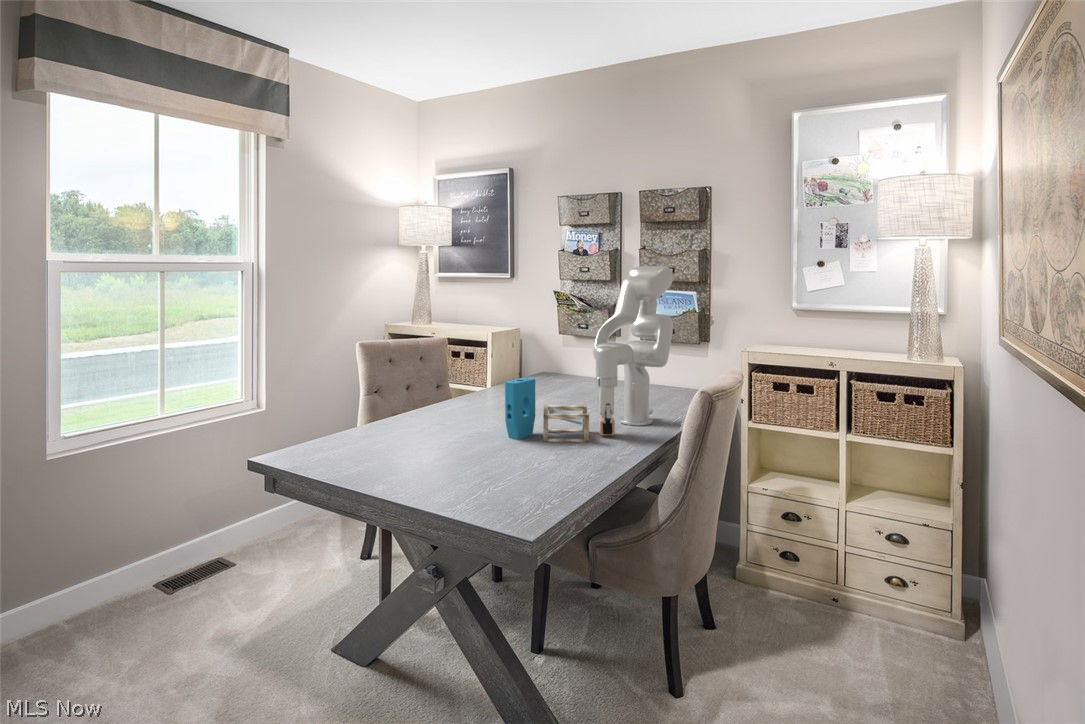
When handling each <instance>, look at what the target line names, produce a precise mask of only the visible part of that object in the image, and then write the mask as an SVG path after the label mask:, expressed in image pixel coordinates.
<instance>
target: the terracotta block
mask: <svg viewBox="0 0 1085 724" xmlns="http://www.w3.org/2000/svg"><path fill="white" fill-rule="evenodd" d="M598 419H599V420H598V421H599V423H598V424H599V427H598V429H599V431H598V432H599V435H600V436H615V435H616V434H615V433H616V432H615V431H616V429H615V427H616V426H615V425H616V421H615V419H614V417H612V434H603V423H604V418H602V417H599V418H598Z"/></svg>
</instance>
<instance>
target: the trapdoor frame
mask: <svg viewBox="0 0 1085 724" xmlns="http://www.w3.org/2000/svg"><path fill="white" fill-rule="evenodd" d="M551 407H553V409H557V410H560V411H564V412H568V411H572V412H573V411H574V412H575V411H577V412H579V411H581V412H582V413H572V414H549V409H550V408H551ZM561 419H581V420H582V424H581V425H582V426H581V427H582V429H561V428H560V429H559V428H558V429H554V428H553V429H549V420H561ZM542 425H543V431H542V432H543V442H550V443H551V442H552V443H553V442H557V443H559V442H560V443H565V442H567V443H569V442H570V443H574V442H576V443H581V442H582V443H587V442H590V440H589V439H590V437H589V436H590V414H589V413H588V405H543V424H542ZM549 433H583V438H549Z"/></svg>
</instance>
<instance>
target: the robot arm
mask: <svg viewBox="0 0 1085 724" xmlns="http://www.w3.org/2000/svg"><path fill="white" fill-rule="evenodd" d="M673 280H674V274H673V271H672V269H671V268H670V267H668V266H666V265H665V266H664V265H659V266H658V265H657V266H654V265H652V266H651V265H642V266H641V265H640V266H634V267H632V268H630V269H629V271H628V275H627V277H625V278H624V279H623V280H622V282H621V285H620V289H619V293H618V298H617V301H616V305H615V309H614V313H613V314H612V316H611V317H609V318H608V319H607V320H606V321H604V323H603V324H602V326H601V327H600V328H599V329H598V330H597V333H596V337H595V340H594V341H595V342H594V345H593V351H592V353H593V357H594V359H595V387H597V388H598V392H597V393H598V397H597V399H598V401H597V402H598V405H597V407H598V408H597V409H598V414H599V415H600V416H601V418H604V423H603V434H612V418H613V415H614V413H615V388H616V387H618V366H622V365H623V369H624V380H623V382H624V384H623V385H624V386H623V388H624V389H623V390H624V391H623V392H624V393H623V416H621V417H619V422H620V423H621V424H624V425H627V426H637V427H638V426H639V427H640V426H648V425H651V424H653V419H652V417H650V415H652V414H654V409H652V408H650V381H651V380H650V376H649V372H648V370H647V369H646V367H649V368H663V367H665V366H666V365H667V363H668V360H669V357H670V351H671V344H672V338H673V332H674V324H673V323H674V322H673V319H672V318H671V316H670V315H669V314H668V315H667V314H664V313H663V314H662V313H657V309H658V301H657V300H658V299H659V298H660V297H661V296H662V295H663V294H664V293H666V291H667V290H668V289H669V288H670V287H671V286H672V284H673V282H674V281H673ZM629 325H630V333H631V335H632V336H633V337H635V338H640V339H649V340H650V339H652V340H655V341H648V340H630V341H626V343H624V342H623V343H622V342H621V343H619V342H612V341H609V339H610V337H611V336H612V334H614V333H615V332H616V331H618V330H620V329H622V328H625V327H626V326H629ZM608 341H609V342H608ZM649 408H650V409H649Z"/></svg>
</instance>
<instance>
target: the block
mask: <svg viewBox="0 0 1085 724" xmlns="http://www.w3.org/2000/svg"><path fill="white" fill-rule="evenodd" d="M504 421H505V426H506V430H507V432H506V433H507V436H508V438H509V439H514V440H522V439H525V438H527V437H530V436H533V433H534V427H535V421H536V378H532V377H522V378H515V379H511V380H506V381H504Z"/></svg>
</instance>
